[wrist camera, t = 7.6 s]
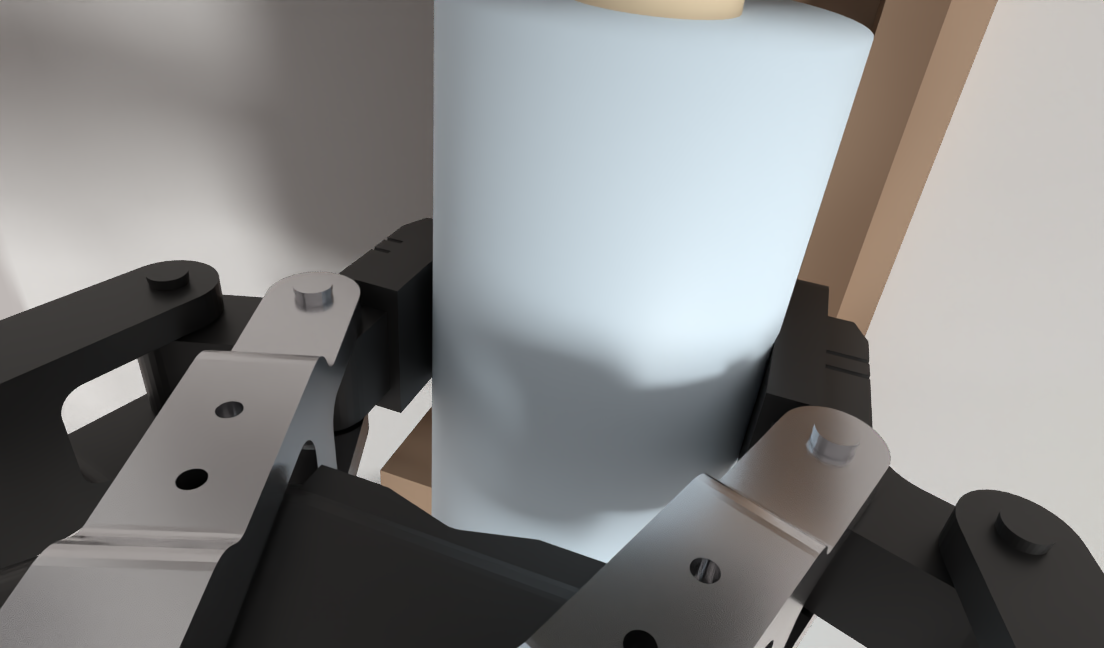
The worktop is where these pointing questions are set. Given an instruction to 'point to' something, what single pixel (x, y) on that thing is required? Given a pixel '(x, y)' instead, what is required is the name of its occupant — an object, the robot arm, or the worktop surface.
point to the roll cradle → (846, 170)
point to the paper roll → (616, 245)
